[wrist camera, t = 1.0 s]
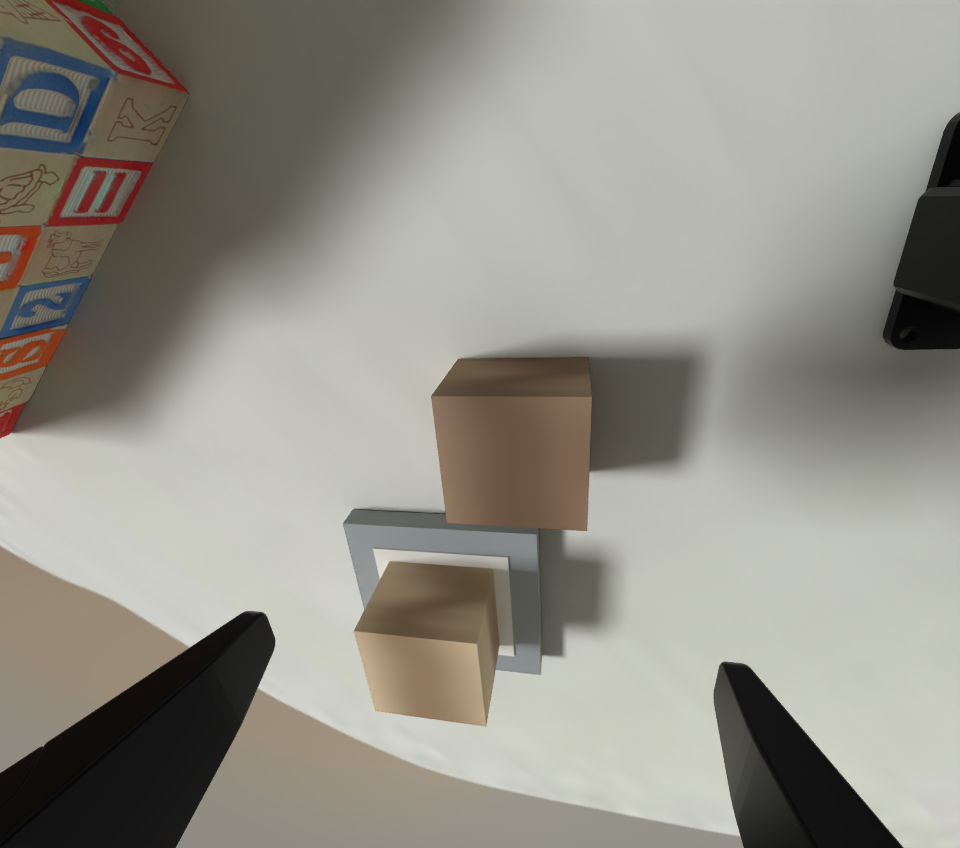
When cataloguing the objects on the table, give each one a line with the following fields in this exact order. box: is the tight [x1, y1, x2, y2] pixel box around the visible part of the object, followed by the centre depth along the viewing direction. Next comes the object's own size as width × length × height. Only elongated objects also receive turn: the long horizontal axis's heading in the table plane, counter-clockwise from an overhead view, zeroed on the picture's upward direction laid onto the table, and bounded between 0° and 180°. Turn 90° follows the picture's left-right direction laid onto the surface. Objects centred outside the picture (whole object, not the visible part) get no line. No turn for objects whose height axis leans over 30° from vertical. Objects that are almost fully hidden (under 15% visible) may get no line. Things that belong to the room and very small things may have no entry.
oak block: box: [354, 561, 500, 726], centre depth 21 cm, size 5×5×4 cm
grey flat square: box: [343, 510, 542, 675], centre depth 23 cm, size 9×9×1 cm
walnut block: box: [431, 357, 592, 531], centre depth 17 cm, size 5×5×4 cm
